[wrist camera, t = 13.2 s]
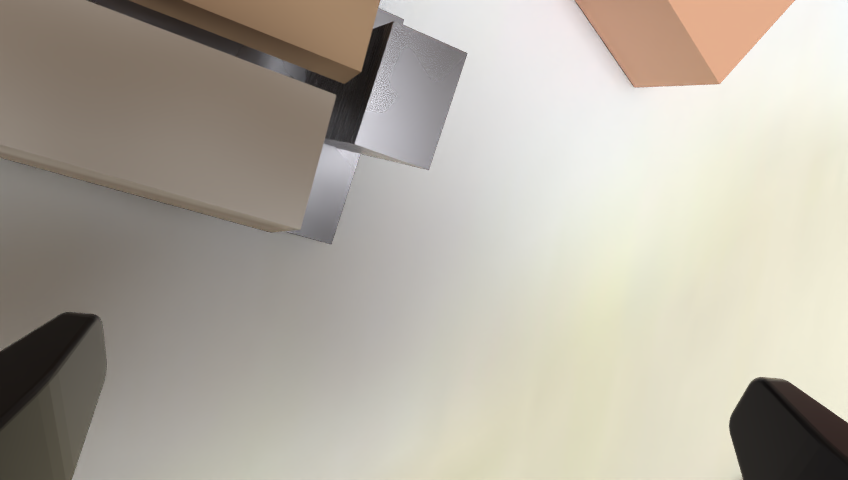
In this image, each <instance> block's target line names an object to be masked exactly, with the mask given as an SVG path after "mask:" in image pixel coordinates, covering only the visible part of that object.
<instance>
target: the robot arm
mask: <svg viewBox="0 0 848 480" xmlns="http://www.w3.org/2000/svg"><path fill="white" fill-rule="evenodd" d="M106 368H107V361H106V352H105V343H104V334H103V325H102V321H101V319H100V318H99V317H98V316H97V315H94V314H85V313H75V312H65V313H62V314H60V315H58V316H57V317H55V318H53V319H52V320H50V321H49V322H47V323H45V324H44V325H42V326H41V327H39V328H37V329H36V330H34V331H32V332H31V333H29V334H28V335H26V336H24V337H23V338H21V339H19V340H18V341H16V342H15V343H13V344H11V345H10V346H8V347H7V348H5V349H3V350H2V351H0V480H72V477H73V474H74V471H75V468H76V465H77V462H78V459H79V456H80V453H81V450H82V447H83V444H84V441H85V438H86V435H87V432H88V429H89V426H90V423H91V420H92V417H93V414H94V411H95V408H96V405H97V402H98V399H99V396H100V393H101V389H102V386H103V383H104V380H105V376H106ZM729 429H730V435H731V438H732V442H733V445H734V449H735V452H736V456H737V459H738V463H739V466H740V470H741V473H742V477H743V480H848V423H847V422H846V421H844V420H843V419H841V418H840V417H839V416H837V415H836V414H834V413H833V412H831V411H830V410H828V409H827V408H826V407H824V406H823V405H821V404H820V403H818V402H817V401H816V400H814V399H813V398H811V397H810V396H808V395H807V394H806V393H804V392H803V391H801V390H800V389H798V388H797V387H796V386H794V385H793V384H791V383H790V382H788V381H786V380H783V379H777V378H767V377H758V378H756V379H754V380H753V381H751V383H750V384H749V385H748V387H747V389H746V391H745V392H744V394H743V396H742V397H741V399H740V401H739V402H738V404H737V406H736V407H735V409H734V411H733V413H732V415H731V417H730V423H729Z"/></svg>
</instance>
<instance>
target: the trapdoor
mask: <svg viewBox="0 0 848 480" xmlns="http://www.w3.org/2000/svg"><path fill="white" fill-rule="evenodd" d="M129 1H132V2H134V3H137V4H139V5H142V6H145V7H147V8H150V9H152V10H155V11H158V12H160V13H163V14H165V15H168V16H170V17H173V18H176V19H178V20H181V21H183V22H186V23H188V24H191V25H194V26H196V27H199V28H201V29H204V30H207V31H209V32H212V33H214V34H217V35H219V36H222V37H225V38H227V39H230V40H232V41H235V42H238V43H240V44H243V45H245V46H248V47H250V48H253V49H256V50H258V51H261V52H263V53H266V54H269V55H271V56H274V57H276V58H279V59H281V60H284V61H287V62H289V63H292V64H294V65H297V66H300V67H302V68H305V69H307V70H310V71H312V72H315V73H318V74H320V75H323V76H325V77H328V78H331V79H333V80H336V81H338V82H341V83H343V84H345V83H347V82H348V81H349V80H351V79H352V78H353V77H355V76H356V75H358V74H359V73H360V72H361V71H362V67H363V63H364V59H365V56H366V52H367V48H368V44H369V41H370V37H371V33H372V29H373V25H374V22H375V18H376V14H377V10H378V6H379V3H380V0H129ZM335 99H336V95H335V94H333V93H330V92H327V91H325V90H322V89H320V88H317V87H314V86H312V85H309V84H306V83H304V82H301V81H298V80H296V79H293V78H290V77H288V76H285V75H283V74H280V73H277V72H275V71H272V70H269V69H267V68H264V67H261V66H259V65H256V64H253V63H251V62H248V61H245V60H243V59H240V58H238V57H235V56H232V55H230V54H227V53H224V52H222V51H219V50H216V49H214V48H211V47H208V46H206V45H203V44H201V43H198V42H195V41H193V40H190V39H187V38H185V37H182V36H179V35H177V34H174V33H171V32H169V31H166V30H163V29H161V28H158V27H156V26H153V25H150V24H148V23H145V22H142V21H140V20H137V19H134V18H132V17H129V16H126V15H124V14H121V13H119V12H116V11H113V10H111V9H108V8H105V7H103V6H100V5H97V4H95V3H92V2H89V1H87V0H0V158H3V159H7V160H11V161H14V162H18V163H21V164H25V165H29V166H32V167H36V168H39V169H43V170H47V171H50V172H54V173H58V174H61V175H65V176H68V177H72V178H76V179H79V180H83V181H86V182H90V183H94V184H97V185H101V186H105V187H108V188H112V189H115V190H119V191H123V192H126V193H130V194H133V195H137V196H141V197H144V198H148V199H151V200H155V201H159V202H162V203H166V204H170V205H173V206H177V207H180V208H184V209H188V210H191V211H195V212H198V213H202V214H206V215H209V216H213V217H217V218H220V219H224V220H227V221H231V222H235V223H238V224H242V225H245V226H249V227H253V228H256V229H260V230H263V231H267V232H281V231H291V230H300V229H301V226H302V222H303V218H304V215H305V211H306V207H307V203H308V200H309V196H310V192H311V188H312V185H313V181H314V177H315V173H316V170H317V166H318V162H319V159H320V155H321V151H322V147H323V144H324V140H325V136H326V132H327V129H328V125H329V121H330V117H331V114H332V110H333V106H334V103H335Z"/></svg>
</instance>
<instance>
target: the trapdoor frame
mask: <svg viewBox="0 0 848 480" xmlns="http://www.w3.org/2000/svg"><path fill="white" fill-rule="evenodd" d="M87 1H89V2H92V3H95V4H97V5H100V6H103V7H105V8H108V9H111V10H113V11H116V12H119V13H121V14H124V15H126V16H129V17H132V18H134V19H137V20H140V21H142V22H145V23H148V24H150V25H153V26H156V27H158V28H161V29H163V30H166V31H169V32H171V33H174V34H177V35H179V36H182V37H185V38H187V39H190V40H193V41H195V42H198V43H201V44H203V45H206V46H208V47H211V48H214V49H216V50H219V51H222V52H224V53H227V54H230V55H232V56H235V57H238V58H240V59H243V60H245V61H248V62H251V63H253V64H256V65H259V66H261V67H264V68H267V69H269V70H272V71H275V72H277V73H280V74H283V75H285V76H288V77H290V78H293V79H296V80H298V81H301V82H304V83H306V84H309V85H312V86H314V87H317V88H320V89H322V90H325V91H327V92H330V93H333V94H335V95H336V99H335V103H334V106H333V110H332V114H331V117H330V121H329V125H328V129H327V132H326V136H325V140H324V144H323V147H322V151H321V155H320V159H319V162H318V166H317V170H316V173H315V177H314V181H313V185H312V188H311V192H310V196H309V200H308V203H307V207H306V211H305V215H304V218H303V222H302V226H301V229H300V230H291V231H285V232H288V233H292V234H296V235H299V236H303V237H306V238H310V239H313V240H317V241H321V242H324V243H328V244H332V241H333V238H334V235H335V231H336V228H337V225H338V222H339V219H340V216H341V213H342V210H343V207H344V204H345V201H346V197H347V194H348V191H349V188H350V185H351V182H352V179H353V176H354V173H355V170H356V166H357V163H358V160H359V157H360V154H363V155H367V156H372V157H376V158H380V159H384V160H388V161H393V162H397V163H401V164H405V165H410V166H414V167H418V168H422V169H426V170H429V168H430V165H431V162H432V159H433V156H434V153H435V150H436V147H437V144H438V141H439V138H440V135H441V132H442V129H443V126H444V123H445V120H446V117H447V114H448V111H449V107H450V104H451V101H452V98H453V95H454V92H455V89H456V86H457V83H458V80H459V77H460V74H461V71H462V68H463V65H464V62H465V59H466V56H467V53H466V52H464V51H461V50H459V49H457V48H455V47H452V46H450V45H448V44H445V43H443V42H441V41H439V40H436V39H434V38H432V37H430V36H427V35H425V34H423V33H421V32H418V31H416V30H414V29H412V28H409V27H407V26H405V25H403V21H404V19H402V18H400V17H397V16H395V15H393V14H391V13H389V12H386V11H384V10H382V9H380V8H378V10H377V14H376V18H375V22H374V25H373V29H372V33H371V37H370V41H369V44H368V48H367V52H366V56H365V59H364V63H363V67H362V71H361V72H360V73H359V74H358V75H356V76H355V77H353V78H352V79H351V80H349V81H348V82H347V83H345V84H343V83H341V82H338V81H336V80H333V79H331V78H328V77H325V76H323V75H320V74H318V73H315V72H312V71H310V70H307V69H305V68H302V67H300V66H297V65H294V64H292V63H289V62H287V61H284V60H281V59H279V58H276V57H274V56H271V55H269V54H266V53H263V52H261V51H258V50H256V49H253V48H250V47H248V46H245V45H243V44H240V43H238V42H235V41H232V40H230V39H227V38H225V37H222V36H219V35H217V34H214V33H212V32H209V31H207V30H204V29H201V28H199V27H196V26H194V25H191V24H188V23H186V22H183V21H181V20H178V19H176V18H173V17H170V16H168V15H165V14H163V13H160V12H158V11H155V10H152V9H150V8H147V7H145V6H142V5H139V4H137V3H134V2H132V1H129V0H87Z"/></svg>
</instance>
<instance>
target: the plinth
mask: <svg viewBox="0 0 848 480" xmlns="http://www.w3.org/2000/svg"><path fill="white" fill-rule="evenodd" d="M575 1H576V2H577V4H578V5H579V7H580V8H581V10H582V11H583V12H584V14H585V15H586V17H587V18H588V20H589V21H590V23H591V24H592V26H593V27H594V29H595V30H596V31H597V33H598V34H599V36H600V37H601V39H602V40H603V42H604V43H605V45H606V46H607V48H608V49H609V50H610V52H611V53H612V55H613V56H614V58H615V59H616V61H617V62H618V64H619V65H620V67H621V68H622V69H623V71H624V72H625V74H626V75H627V77H628V78H629V80H630V81H631V83H632V84H633V86H634V87H659V86H683V85H708V84H720V83H721V82H722V81H723V80H724V79H725V78H726V76H727V75H728V74H729V73H730V72H731V71H732V70H733V69H734V67H735V66H736V65H737V64H738V63H739V62H740V61H741V60H742V59H743V57H744V56H745V55H746V54H747V53H748V52H749V51H750V50H751V49H752V47H753V46H754V45H755V44H756V43H757V42H758V41H759V40H760V39H761V37H762V36H763V35H764V34H765V33H766V32H767V31H768V30H769V29H770V27H771V26H772V25H773V24H774V23H775V22H776V21H777V20H778V18H779V17H780V16H781V15H782V14H783V13H784V12H785V11H786V10H787V8H788V7H789V6H790V5H791V4H792V3H793V2H794V1H795V0H575Z"/></svg>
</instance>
